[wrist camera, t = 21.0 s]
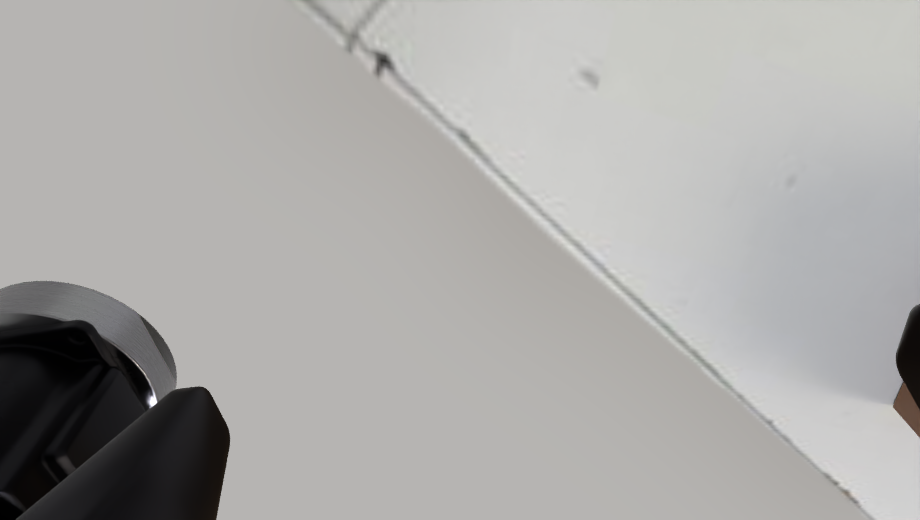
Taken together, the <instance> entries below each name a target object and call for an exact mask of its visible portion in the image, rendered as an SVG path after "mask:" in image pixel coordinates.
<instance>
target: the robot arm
mask: <svg viewBox="0 0 920 520" xmlns="http://www.w3.org/2000/svg"><path fill="white" fill-rule="evenodd" d="M77 332H78V333H80V334H82V335H83V336H81V335H79V334H78V333H77ZM896 364H897V368H898V371H899V374H900V376H901V378H902V379H903V381H904V383H905V385H906V387H907V388H908V390H909V392H910V394H911V396H912V397H913V399H914V401H915V403H916V405H917V406H918V408H919V410H920V304H919V305H916V306H915V307H914V308H913V309H912V310H911V312H910V314H909V316H908V319H907V322H906V325H905V328H904V331H903V334H902V337H901V340H900V343H899V346H898V349H897V353H896ZM229 446H230V434H229V429H228V427H227V424H226V422H225V420H224V418H223V417H222V415H221V413H220V411H219V409H218V407H217V405H216V403H215V401H214V399H213V397H212V395H211V394H210V392H209V391H208V390H207V389H206V388H204V387H190V388H182V389H176V390H173V391H171V392H169V393H168V394H167V395H166V396H164V397H163V398H162V399H161V400H160V401H158V402H157V403H156V404H155V405H153V406H152V407H151V408H150V409H149V410H147V411H146V409H145V408H144V406H143V404H142V403H141V401H140V400H139V398H138V396H137V395H136V393H135V391H134V390H133V388H132V387H131V385H130V383H129V382H128V380H127V378H126V377H125V375H124V374H123V372H122V370H121V369H120V367H119V366H118V364H117V362H116V361H115V359H114V357H113V356H112V354H111V353H110V351H109V349H108V348H107V346H106V344H105V343H104V341H103V340H102V338H101V336H100V335H99V333H98V332H97V330H96V328H95V327H94V326H93V325H92V324H90V323H89V322H87V321H83V320H71V321H65V322H58V323H52V324H45V325H38V326H32V327H25V328H18V329H12V330H5V331H0V520H216V518H217V511H218V507H219V501H220V496H221V490H222V485H223V479H224V474H225V468H226V463H227V457H228V452H229Z"/></svg>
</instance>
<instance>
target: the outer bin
mask: <svg viewBox="0 0 920 520" xmlns="http://www.w3.org/2000/svg"><path fill="white" fill-rule="evenodd" d="M893 408H894V409H895V410H896V411H897V412H898V413H899V415H900V416H901V417H902V418H903V419H904V420H905V421H906V422H907V424H908V425H909V426H910V427H911V428H912V429H913V430H914V432H915V433H916V434H917V435H918V436H919V437H920V410H919V408H918V406H917V405H916V403H915V401H914V399H913V397H912V396H911V394H910V392H909V390H908V388H907V387H906V385H905V383H904V382H903V384H902V387H901V389H900V391H899V393H898V396H897V398H896V400H895V402H894V405H893Z"/></svg>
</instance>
